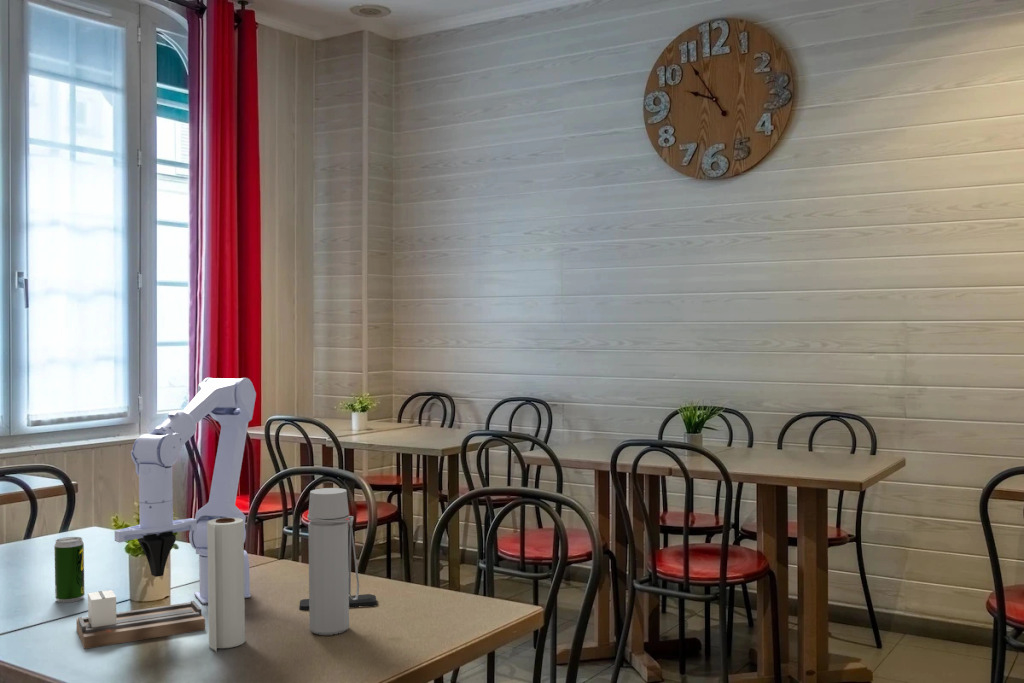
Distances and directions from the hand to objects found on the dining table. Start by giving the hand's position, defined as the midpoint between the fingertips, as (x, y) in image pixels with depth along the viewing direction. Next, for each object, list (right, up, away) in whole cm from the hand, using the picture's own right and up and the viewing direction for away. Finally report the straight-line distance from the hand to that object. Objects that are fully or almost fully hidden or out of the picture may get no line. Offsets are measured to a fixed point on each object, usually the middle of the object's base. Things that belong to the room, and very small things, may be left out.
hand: (157, 575), depth 178 cm
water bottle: (+33, -9, -2) cm, 34 cm away
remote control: (+30, -10, +13) cm, 35 cm away
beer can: (-24, -9, +18) cm, 32 cm away
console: (-2, -9, -2) cm, 10 cm away
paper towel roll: (+15, -10, -10) cm, 20 cm away
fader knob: (-8, -7, -5) cm, 12 cm away
